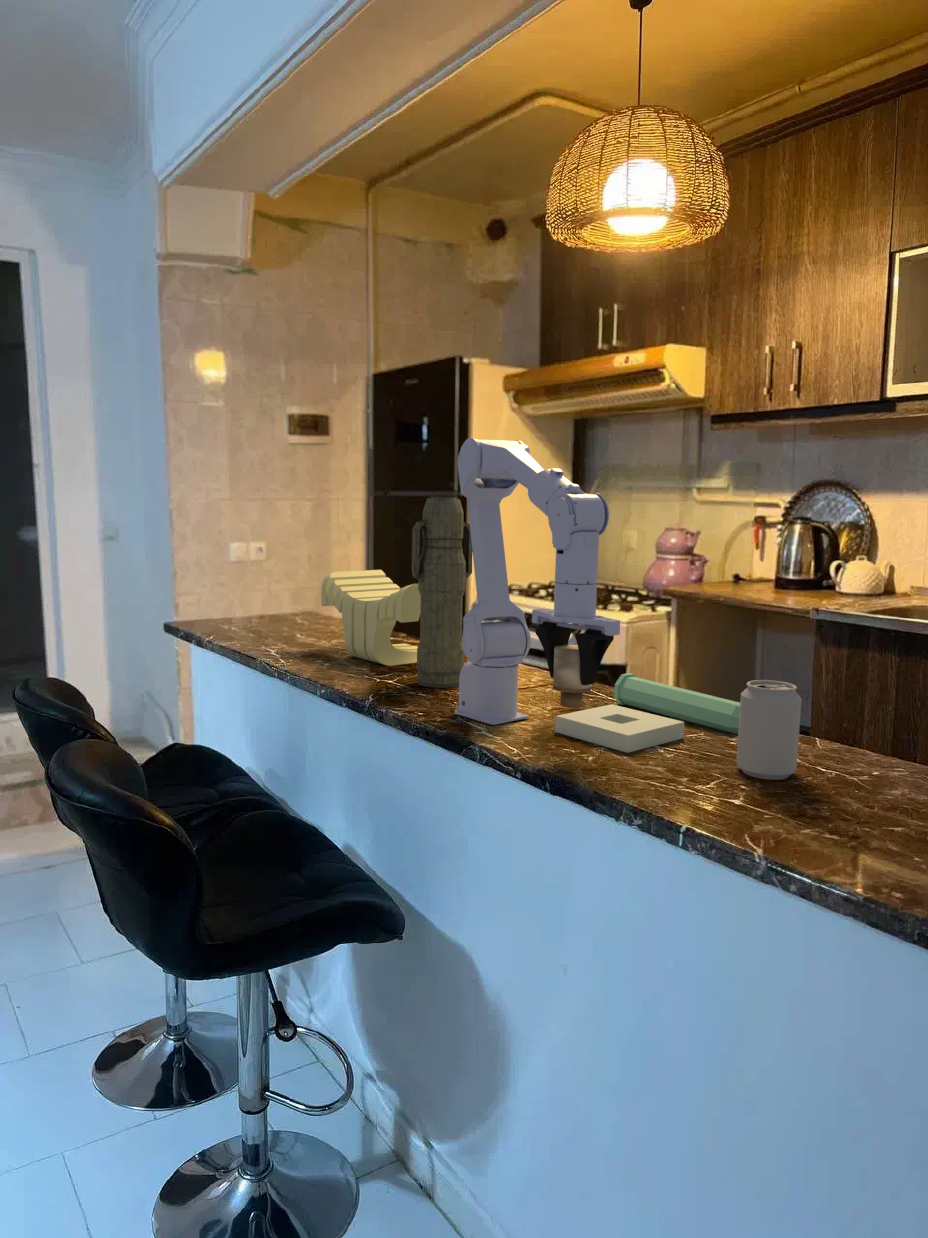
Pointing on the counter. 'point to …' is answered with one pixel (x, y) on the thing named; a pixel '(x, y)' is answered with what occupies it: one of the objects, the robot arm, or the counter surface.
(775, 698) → the can
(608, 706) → the board
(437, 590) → the thermos
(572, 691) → the peg
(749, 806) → the counter surface
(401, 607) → the slatted curved stool
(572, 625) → the robot arm
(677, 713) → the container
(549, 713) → the counter surface
